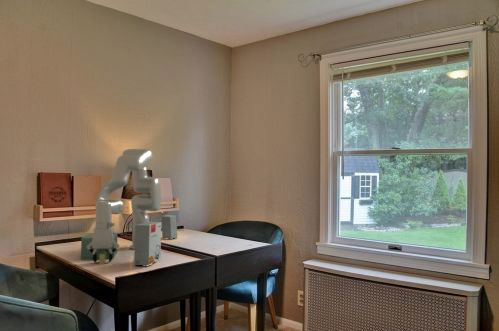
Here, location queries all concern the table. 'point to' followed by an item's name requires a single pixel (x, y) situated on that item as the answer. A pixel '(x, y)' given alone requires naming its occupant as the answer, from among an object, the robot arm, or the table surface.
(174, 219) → the skincare box
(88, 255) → the coin box
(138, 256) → the hard drive box
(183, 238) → the table surface
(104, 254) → the token
